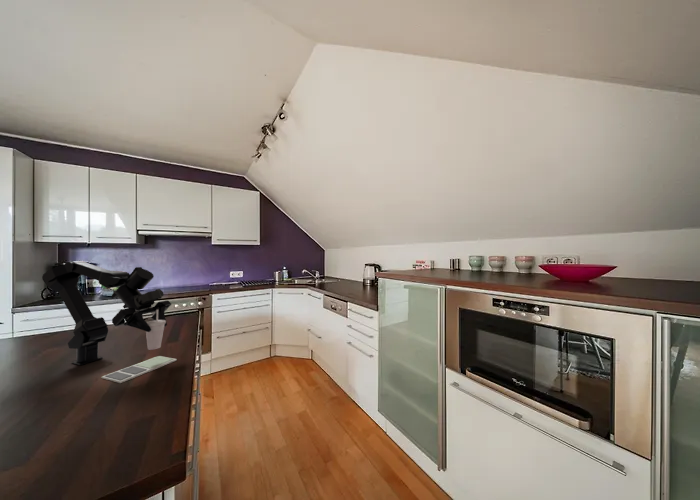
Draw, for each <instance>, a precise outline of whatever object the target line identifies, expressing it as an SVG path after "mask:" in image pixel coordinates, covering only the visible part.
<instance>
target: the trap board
mask: <svg viewBox="0 0 700 500" xmlns="http://www.w3.org/2000/svg"><path fill="white" fill-rule="evenodd" d="M176 361H177V358H172V357H167V356H162V355H158V356H154V357H151V358H149V359H146V360H144V361H142V362H138V363H136V364H132V365H131V366H127V367H124V368H122V369H119V370H116V371H113V372H111V373H108V374H105V375H103V376H101V377H100V378H101V379H102V380H106V381H110V382H115V383H118V384H123V383H124V382H127V381H129V380H132V379H134V378H137V377H140V376H141V375H145V374H147V373H149V372H152V371H154V370H156V369H159V368H162V367H164V366H167V365H169V364H172V363H174V362H176Z"/></svg>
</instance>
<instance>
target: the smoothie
mask: <svg viewBox="0 0 700 500" xmlns="http://www.w3.org/2000/svg"><path fill="white" fill-rule="evenodd" d="M146 323H147V324H148V325H149V327H150V328H151V331H150V332H147V331H145V336H146V345H147V346H146V347H147V350H148V351H149V350H150V351H152V350H156V349H160V348H161V347H162V341H163V335H164V330H165V327H164V325H165V323H167V320H158V310H157V311H156V320H153V319H152V320H149V321H148V320H147V321H146Z"/></svg>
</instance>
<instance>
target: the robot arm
mask: <svg viewBox="0 0 700 500" xmlns="http://www.w3.org/2000/svg"><path fill="white" fill-rule="evenodd" d="M81 276H85V277H87V278H90V279H93V280H95V281H97V282H98V284H99V285H101V286H103V287H104V288H106V289H114V288H116V290H113V292H112V294H111V298H112V299H115V298H118V299H120V300H121V302H122V303H123V306H122V307H123V309H120V310H119V311H118V312H117V313H116V314H115V315H114V316H113V317H112V320H111V322H112V323H111V324H113V325H114V326H115V327H119V326H124V327H125V326H128V327H132V328H136V329H139V330H142V331H144V332H146V331H147V332H150V331H151V328H150V327H149V325H148V324H147V323H146V322H147V321H146V320H145V319H144V317H143V316H144V315H147V314H152V316H150V317H151V319H152V320H156V311H157V310H158V320H166V315H165V314H166V313H165V312H166V311H167V310H168V308H170V307H171V306H172V303H171V301H170V300H167V299H166V300H162V301H158V302H157V303H156V302H155V301H157V300H161V299H162V297H163V296H164V291H163V290H162V289H161V288H157V289H154V290H152V291H148V292H145V293H141V291H140V290H143V289H145V288H146V286H147V285H148V284H149V283H150V282H151V281H152V280H153V279H154V273H152V272H151V271H149V270H147V269H144V268H143V267H142V266H140V267H139V266H136V267H135V268H134V269H133V271H132V272H131V273H129V272H128V271H123V270H110V269H107V268H103V267H100V266H97V265H95V264H92V263H91V264H90V263H88V262H87V261H83V260H78V261H77V260H75V261H74V260H71V261H68V262H66V263H64V264H61V265H59V266H56V267H54V268H51V269H48V270H47V271H45V273H43V274H42V279H41V280H42V281H43V282H44V284H45V285H46V286H47V287H48V288H49V289H51V290H53V291H55V292H56V293H58V294H59V296H60V298H61V300H62V302H63V304H64V305H65V307H66V309H67V310H68V312H69V314H70V316H71V318H72V319H73V321H74V323H75V326H74V328H73V335H74V336H72V338H71V339H70V340H69V341H68V342H67V346H68V349H71V350H72V349H76V355H75V356H76V359H75V360H72V361H70V362H71V363H72V364H75V365H78V366H82V365H85V364H88V363H91V362H95V361H99V360H101V359H104V356H100V355H99V343H102V342H106V338H107V335H108V332H109V327H108V326H109V324H107V322H106V320H105V318H104V317H103V316H100V317H95V316H94V315H93V312H92V311H91V309H90V308H89V306H88V305H87V302H86V300H85V299H84V297H83V295H82V293H81V291H80V289H79V288H78V284H79V281H80V279H79V278H80V277H81ZM155 303H156V304H155ZM154 304H155V305H154ZM152 305H154V306H152ZM166 321H167V320H166ZM167 326H168V324H167V322H166V323H165V325H164V328H165V327H167Z"/></svg>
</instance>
